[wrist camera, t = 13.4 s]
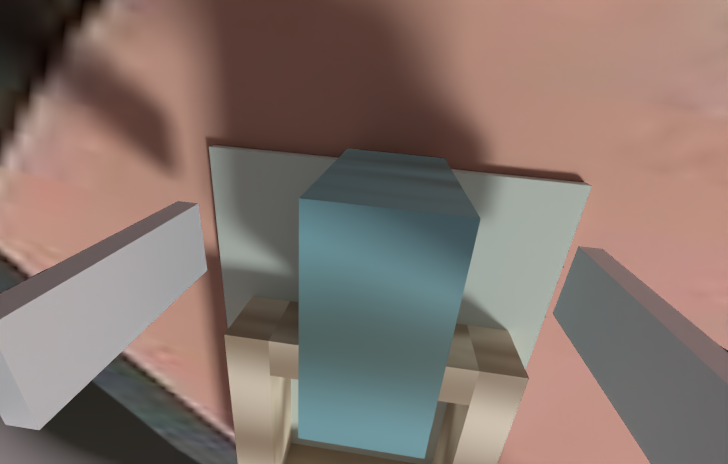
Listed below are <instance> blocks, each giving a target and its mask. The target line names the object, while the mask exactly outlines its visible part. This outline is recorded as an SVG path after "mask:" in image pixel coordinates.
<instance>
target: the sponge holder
mask: <svg viewBox="0 0 728 464" xmlns="http://www.w3.org/2000/svg"><path fill="white" fill-rule="evenodd" d="M480 220H481V218H480V217H479V215H478V213H477V212H476V210H475V208H474V207H473V205H472V203H471V202H470V200H469V198H468V197H467V195H466V193H465V192H464V190H463V188H462V187H461V185H460V183H459V182H458V180H457V178H456V176H455V175H454V173H453V171H452V170H451V168H450V166H449V165H448V163H447V161H446V160H445V158H437V157H427V156H417V155H407V154H397V153H387V152H377V151H367V150H358V149H348V148H347V150H346V151H345V152H344V153H343V154H342V155H341V156H340V157H339V158H338V159H337V160H336V161H335V162H334V163H333V164H332V165H331V166H330V167H329V168H328V169H327V170H326V171H325V172H324V173H323V174H322V175H321V176H320V177H319V178H318V179H317V180H316V181H315V182H314V183H313V184H312V185H311V186H310V187H309V189H308V190H307V191H306V192H305V193H304V194H303V195H302V196H301V197H300V198H299V302H293V301H285V300H278V299H271V298H263V297H256V296H252V297H251V299H250V300H249V302H248V303H247V304H246V306H245V307H244V308H243V310H242V311H241V312H240V314H239V315H238V316H237V318H236V319H235V321H234V322H233V323H232V325H231V326H230V327H229V329H228V330H227V331H226V333H225V334H224V339H225V348H226V357H227V367H228V376H229V385H230V394H231V404H232V413H233V422H234V431H235V441H236V450H237V459H238V464H415V463H409V462H403V461H397V460H391V459H385V458H379V457H373V456H367V455H361V454H355V453H348V452H342V451H336V450H330V449H324V448H318V447H312V446H306V445H300V444H294V443H291V379H297V380H298V438H300V439H306V440H312V441H318V442H325V443H331V444H337V445H343V446H349V447H355V448H361V449H367V450H374V451H380V452H386V453H392V454H398V455H404V456H410V457H416V458H423V459H424V458H425V454H426V449H427V445H428V441H429V437H430V432H431V428H432V424H433V420H434V415H435V411H436V407H437V403H438V401H442V402H448V403H447V407H446V410H445V414H444V418H443V422H442V426H441V430H440V434H439V438H438V442H437V446H436V450H435V454H434V458H433V462H432V464H497V463H498V460H499V458H500V455H501V452H502V450H503V447H504V444H505V442H506V439H507V436H508V434H509V431H510V428H511V425H512V423H513V420H514V417H515V415H516V412H517V409H518V407H519V404H520V401H521V399H522V396H523V393H524V391H525V388H526V385H527V382H528V380H529V377H528V375H527V373H526V370H525V368H524V366H523V364H522V361H521V359H520V357H519V354H518V352H517V350H516V347H515V345H514V343H513V340H512V338H511V336H510V334H509V331H508V330H501V329H494V328H486V327H479V326H471V325H464V324H456V322H457V317H458V313H459V309H460V305H461V300H462V296H463V292H464V288H465V283H466V279H467V275H468V271H469V266H470V262H471V258H472V254H473V249H474V245H475V241H476V237H477V232H478V228H479V224H480Z"/></svg>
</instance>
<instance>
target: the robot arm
mask: <svg viewBox="0 0 728 464" xmlns="http://www.w3.org/2000/svg"><path fill="white" fill-rule="evenodd" d="M206 271H207V265H206V257H205V250H204V242H203V235H202V227H201V220H200V212H199V205H198V203H189V202H180V201H177V202H175V203H174V204H172V205H170V206H168V207H166V208H164V209H162V210H160V211H158V212H156V213H154V214H152V215H150V216H149V217H147V218H145V219H143V220H141V221H139V222H137V223H135V224H133V225H131V226H129V227H127V228H125V229H124V230H122V231H120V232H118V233H116V234H114V235H112V236H110V237H108V238H106V239H104V240H102V241H101V242H99V243H97V244H95V245H93V246H91V247H89V248H87V249H85V250H83V251H81V252H79V253H77V254H76V255H74V256H72V257H70V258H68V259H66V260H64V261H62V262H60V263H58V264H56V265H54V266H52V267H51V268H49V269H46V270H44V271H42V272H40V273H38V274H36V275H34V276H32V277H30V278H28V279H26V280H25V281H24V282H22V283H19V284H17V285H15V286H13V287H11V288H9V289H7V290H6V291H4V292H3V293H2V292H1V293H0V415H1V417H2V419H3V421H4V423H5V424H6V425H11V426H17V427H23V428H29V429H36V430H40V429H41V428H42V427H43V426H44V425H45V424H46V423H47V422H48V421H49V420H50V419H51V418H52V417H53V416H55V414H57V412H59V411H60V410H61V409H62V408H63V407H64V406H65V405H66V404H67V403H68V402H69V401H70V400H71V399H72V398H73V397H74V396H75V395H76V394H78V393H79V392H80V391H81V390H82V389H83V388H84V387H85V386H86V385H87V384H88V383H89V382H90V381H91V380H92V379H93V378H94V377H96V376H97V375H98V374H99V373H100V372H101V371H102V370H103V369H104V368H105V367H106V366H107V365H108V364H109V363H110V362H111V361H112V360H113V359H114V358H115V357H117V356H118V355H119V354H120V353H121V352H122V351H123V350H124V349H125V348H126V347H127V346H128V345H129V344H130V343H131V342H132V341H133V340H134V339H135V338H137V337H138V336H139V335H140V334H141V333H142V332H143V331H144V330H145V329H146V328H147V327H148V326H149V325H150V324H151V323H152V322H153V321H154V320H155V319H156V318H158V317H159V316H160V315H161V314H162V313H163V312H164V311H165V310H166V309H167V308H168V307H169V306H170V305H171V304H172V303H173V302H174V301H175V300H176V299H178V298H179V297H180V296H181V295H182V294H183V293H184V292H185V291H186V290H187V289H188V288H189V287H190V286H191V285H192V284H193V283H194V282H195V281H196V280H197V279H199V278H200V277H201V276H202V275H203V274H204V273H205V272H206ZM553 315H554V316H555V318H556V319H557V321H558V322H559V324H560V325H561V327H562V328H563V330H564V331H565V333H566V335H567V336H568V338H569V339H570V341H571V342H572V344H573V345H574V347H575V348H576V350H577V351H578V353H579V354H580V356H581V357H582V359H583V361H584V362H585V364H586V365H587V367H588V368H589V370H590V371H591V373H592V374H593V376H594V377H595V379H596V380H597V382H598V383H599V385H600V387H601V388H602V390H603V391H604V393H605V394H606V396H607V397H608V399H609V400H610V402H611V403H612V405H613V406H614V408H615V410H616V411H617V413H618V414H619V416H620V417H621V419H622V420H623V422H624V423H625V425H626V426H627V428H628V429H629V431H630V432H631V434H632V436H633V437H634V439H635V440H636V442H637V443H638V445H639V446H640V448H641V449H642V451H643V452H644V454H645V455H646V457H647V458H648V460H649V462H650V463H651V464H728V350H726V349H724V348H723V347H721V346H719V345H718V344H717V343H716V342H715V341H713V340H712V339H711V338H710V337H708V336H707V335H706V334H705V333H704V332H702V331H701V330H700V329H699V328H698V327H696V326H695V325H694V324H693V323H692V322H690V321H689V320H688V319H687V318H685V317H684V316H683V315H682V314H681V313H679V312H678V311H677V310H676V309H675V308H673V307H672V306H671V305H670V304H669V303H667V302H666V301H665V300H664V299H662V298H661V297H660V296H659V295H658V294H656V293H655V292H654V291H653V290H652V289H650V288H649V287H648V286H647V285H646V284H644V283H643V282H642V281H641V280H639V279H638V278H637V277H636V276H635V275H633V274H632V273H631V272H630V271H629V270H627V269H626V268H625V267H624V266H622V265H621V264H620V263H619V262H618V261H616V260H615V259H614V258H613V257H612V256H610V255H609V254H608V253H607V252H606V251H604V250H603V249H598V248H589V247H580V246H579V247H578V249H577V252H576V254H575V257H574V260H573V262H572V265H571V268H570V270H569V273H568V275H567V278H566V281H565V283H564V286H563V288H562V291H561V294H560V296H559V299H558V302H557V304H556V307H555V309H554V312H553Z"/></svg>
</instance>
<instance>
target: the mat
mask: <svg viewBox="0 0 728 464" xmlns="http://www.w3.org/2000/svg"><path fill="white" fill-rule="evenodd" d="M209 154H210V164H211V173H212V183H213V193H214V202H215V212H216V222H217V231H218V241H219V251H220V260H221V270H222V280H223V289H224V299H225V309H226V318H227V328H228V329H229V327H230V326H231V325H232V323H233V322H234V321H235V319H236V318H237V316H238V315H239V314H240V312H241V311H242V310H243V308H244V307H245V306H246V304H247V303H248V302H249V300H250V299H251V297H252V296H256V297H263V298H271V299H278V300H285V301H293V302H299V198H300V197H301V196H302V195H303V194H304V193H305V192H306V191H307V190H308V189H309V187H310V186H311V185H312V184H313V183H314V182H315V181H316V180H317V179H318V178H319V177H320V176H321V175H322V174H323V173H324V172H325V171H326V170H327V169H328V168H329V167H330V166H331V165H332V164H333V163H334V162H335V161H336V160H337V159H338V157H328V156H318V155H308V154H298V153H289V152H279V151H269V150H259V149H249V148H239V147H229V146H220V145H213V146H210V147H209ZM451 170H452V171H453V173H454V175H455V176H456V178H457V180H458V182H459V183H460V185H461V187H462V188H463V190H464V192H465V193H466V195H467V197H468V198H469V200H470V202H471V203H472V205H473V207H474V208H475V210H476V212H477V213H478V215H479V217H480V218H481V220H480V224H479V228H478V232H477V237H476V241H475V245H474V249H473V254H472V258H471V262H470V266H469V271H468V275H467V279H466V283H465V288H464V292H463V296H462V300H461V305H460V309H459V313H458V317H457V322H456V324H464V325H471V326H479V327H486V328H494V329H501V330H508V331H509V334H510V336H511V338H512V340H513V343H514V345H515V347H516V350H517V352H518V354H519V357H520V359H521V361H522V364H523V366H524V368H525V370H526V368H527V365H528V362H529V359H530V357H531V354H532V351H533V348H534V345H535V343H536V340H537V337H538V334H539V331H540V329H541V326H542V323H543V320H544V318H545V315H546V312H547V309H548V306H549V304H550V301H551V298H552V295H553V293H554V290H555V287H556V284H557V281H558V279H559V276H560V273H561V270H562V267H563V265H564V262H565V259H566V256H567V254H568V251H569V248H570V245H571V242H572V240H573V237H574V234H575V231H576V229H577V226H578V223H579V220H580V217H581V215H582V212H583V209H584V206H585V204H586V201H587V198H588V195H589V192H590V190H591V187H592V186H591V185H589V184H587V183H584V182H575V181H565V180H555V179H545V178H535V177H525V176H515V175H506V174H496V173H486V172H476V171H466V170H456V169H451ZM447 403H448V402H442V401H438V403H437V407H436V411H435V415H434V420H433V424H432V428H431V432H430V437H429V441H428V445H427V449H426V454H425V458H424V459H423V458H416V457H410V456H404V455H398V454H392V453H386V452H380V451H374V450H367V449H361V448H355V447H349V446H343V445H337V444H331V443H325V442H318V441H312V440H306V439H300V438H298V380H297V379H291V443H294V444H300V445H306V446H312V447H318V448H324V449H330V450H336V451H342V452H348V453H355V454H361V455H367V456H373V457H379V458H385V459H391V460H397V461H403V462H409V463H415V464H432V462H433V458H434V454H435V450H436V446H437V442H438V438H439V434H440V430H441V426H442V422H443V418H444V414H445V410H446V407H447Z"/></svg>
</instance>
